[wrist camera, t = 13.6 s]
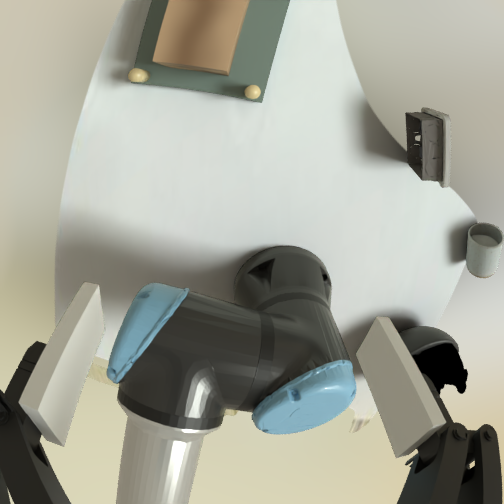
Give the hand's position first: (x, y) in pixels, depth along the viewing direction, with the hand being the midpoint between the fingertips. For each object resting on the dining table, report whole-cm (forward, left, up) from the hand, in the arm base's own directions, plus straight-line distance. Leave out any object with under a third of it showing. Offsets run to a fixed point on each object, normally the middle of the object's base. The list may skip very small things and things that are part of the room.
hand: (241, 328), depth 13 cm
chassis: (+7, -17, -28) cm, 33 cm away
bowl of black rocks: (-42, +27, -28) cm, 57 cm away
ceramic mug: (-47, 0, -28) cm, 55 cm away
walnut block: (+7, -17, -26) cm, 32 cm away
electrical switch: (-23, -11, -28) cm, 38 cm away
